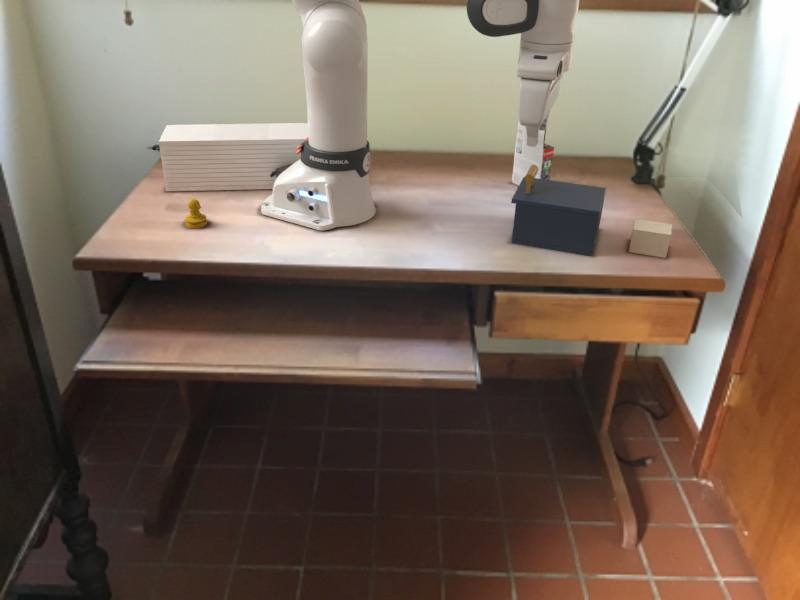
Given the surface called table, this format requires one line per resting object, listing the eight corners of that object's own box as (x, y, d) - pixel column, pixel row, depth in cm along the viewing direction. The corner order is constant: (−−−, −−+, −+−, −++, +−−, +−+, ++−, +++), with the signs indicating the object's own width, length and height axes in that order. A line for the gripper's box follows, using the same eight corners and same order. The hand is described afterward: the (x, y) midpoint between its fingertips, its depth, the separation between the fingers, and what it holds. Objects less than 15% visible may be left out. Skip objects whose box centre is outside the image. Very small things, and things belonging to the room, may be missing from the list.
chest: (511, 243, 138) (515, 203, 134) (523, 218, 148) (527, 181, 144) (592, 256, 134) (598, 216, 130) (598, 230, 144) (605, 192, 140)
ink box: (522, 179, 165) (529, 114, 158) (549, 191, 160) (558, 123, 153) (510, 183, 163) (517, 117, 156) (538, 195, 158) (546, 127, 151)
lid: (511, 202, 134) (513, 178, 132) (523, 180, 144) (525, 157, 141) (598, 215, 130) (603, 191, 128) (605, 191, 140) (609, 168, 137)
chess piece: (211, 221, 143) (208, 197, 141) (199, 229, 140) (196, 205, 137) (193, 218, 144) (190, 194, 142) (181, 226, 141) (178, 201, 139)
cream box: (628, 252, 136) (633, 229, 134) (630, 241, 140) (634, 218, 137) (666, 258, 134) (671, 234, 132) (666, 246, 138) (672, 224, 136)
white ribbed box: (166, 191, 155) (158, 141, 150) (173, 172, 164) (166, 124, 159) (321, 188, 159) (319, 138, 153) (320, 169, 168) (318, 122, 162)
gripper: (537, 43, 135) (529, 118, 142) (515, 68, 119) (507, 153, 126) (572, 45, 134) (563, 122, 141) (555, 72, 117) (545, 157, 124)
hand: (536, 137), depth 133 cm, fingers open, 8 cm apart
